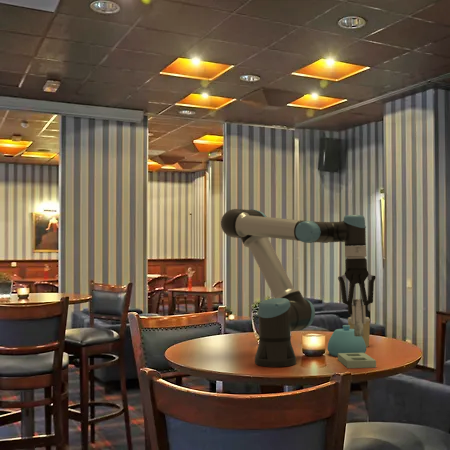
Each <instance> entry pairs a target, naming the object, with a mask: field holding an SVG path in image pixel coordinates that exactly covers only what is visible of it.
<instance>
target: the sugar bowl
mask: <svg viewBox="0 0 450 450" xmlns="http://www.w3.org/2000/svg"><path fill="white" fill-rule="evenodd" d="M349 328H350V325H348V324H344V325H342V328H337V329H335V330H334V331H333V332H332V335H331V336H330V337H329V339H328V343H327V351H328V353H329V354H330V355H331V356H333V357H337V358H338V353H365V354H366V352H367V347H366V344H365V341H364V339H363V337H362V336H360V337H358V336H354V329H349Z"/></svg>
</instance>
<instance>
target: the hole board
mask: <svg viewBox="0 0 450 450" xmlns="http://www.w3.org/2000/svg"><path fill="white" fill-rule="evenodd" d="M337 361H339V362H340V363H341V364H342V365H343V366H344V367H346V368H347V369H366V368H367V369H369V368H370V369H371V368H377V360H376V359H375V358H373V357H372V356H370V355H368V354H367V353H366V352H365V353H338V357H337Z"/></svg>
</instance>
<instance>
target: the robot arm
mask: <svg viewBox="0 0 450 450" xmlns="http://www.w3.org/2000/svg"><path fill="white" fill-rule="evenodd" d="M220 220H221V221H220V228H221V229H222V232H223V233H224V234H225V235H226V236H228V237H230V238H236V239H237V238H240V240H241V242H242V244H243V246H244V247H245V248H249V250H250V252H251V254H252V255H253V258H254V260H255V261H256V264H257V265H258V268H259V270H260V272H261V273H262V276H263V278H264V281H266V283H267V286H268V288H269V289H270V292H271V294H272V296H273V298H270V299H264V300H262V301H261V302H260V303H259V305H258V311H257V315H258V341H259V342H258V346H257V349H256V352H255V355H254V364H255V365H257V366H260V367H265V368H266V367H268V368H275V367H276V368H280V367H281V368H282V367H283V368H284V367H290V366H295V365H296V364H297V357H296V353H295V351H294V348H293V344H292V341H291V340H292V339H291V337H292V336H291V335H292V334H291V332H295V331H302V330H304V329H307V328H309V327H310V326H311V325H313V322H314V320H315V317H316V311H315V310H316V308H315V306H314V304H313V303H312V302H311V301H310V300H309V299H307V298H304V297H303V295H302V293H301V291H300V290H298V289H295V287H294V286H293V284H292V282H291V280H290V278H289V275H288V273H287V272H286V270H285V268H284V266H283V264H282V262H281V259H280V258H279V257H278V256H279V255H277V253H276V251H275V248H274V247H273V245H272V243H271V241H270V239H269V238H272V239H279V240H281V239H282V240H288V241H296V242H297V241H298V242H301V243H305V244H312V243H322V244H325V243H326V244H327V243H341V242H342V243H344V255H345V256H344V257H345V271H344V274H343V275H341V276H338V277H337V279H338V282H339V286H340V294H341V301H342V304H344V305H346V306H347V314H348V315H350V317H351V323H352V324H355V308H354V305H353V299H354V293H355V287H356V284H358V285H359V288H360V294H361V299H362V308H363V324H366V317H367V316H366V315H368V314H369V305H370V304H373V303H374V290H375V289H374V288H375V287H374V286H375V280H376V278H377V277H376V275H372V274H371V273H369V271H368V260H367V240H366V239H367V236H366V235H367V234H366V233H367V231H366V228H367V226H366V219H365V216H364V215H362V214H348V215H344V217H343V220H342V221H311V220H301V219H293V218H290V219H289V218H279V217H270V216H266V214H265V213H264V212H263V211H260V210H257V209H253V208H252V209H243V208H241V209H239V208H234V209H229V210H227V211H226V212H225V213H224V214H222V217H221V219H220ZM346 279H347V281H348V282H349V284H348V285H349V287H348V294H347V291H346V290H347V289H346ZM367 279H368V287H367V288H368V289H367V291H368V292H367V291H366V283H365V281H366V280H367Z"/></svg>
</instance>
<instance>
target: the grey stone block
mask: <svg viewBox="0 0 450 450" xmlns="http://www.w3.org/2000/svg"><path fill="white" fill-rule="evenodd" d="M352 305H354V308H355V324H354V336H358V337H360V336H364V334H363V308H362V305H363V300H362V298H353V302H352Z"/></svg>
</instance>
